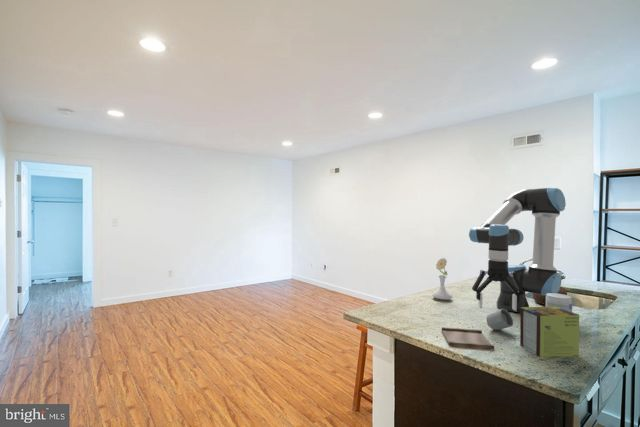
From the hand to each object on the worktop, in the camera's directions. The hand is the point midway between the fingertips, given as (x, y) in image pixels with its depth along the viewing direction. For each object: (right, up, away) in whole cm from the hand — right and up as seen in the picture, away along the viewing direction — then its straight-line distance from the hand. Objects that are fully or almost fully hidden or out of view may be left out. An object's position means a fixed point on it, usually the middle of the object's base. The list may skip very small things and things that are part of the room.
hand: (497, 308), depth 137 cm
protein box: (+9, -11, -19) cm, 23 cm away
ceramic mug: (0, -10, 0) cm, 10 cm away
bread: (+61, -11, +52) cm, 82 cm away
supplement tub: (+31, -11, +5) cm, 33 cm away
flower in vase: (-4, -10, +51) cm, 52 cm away
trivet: (-18, -10, -9) cm, 23 cm away
